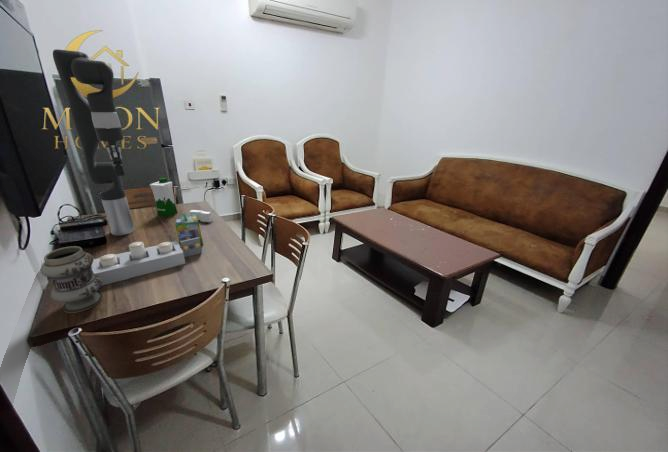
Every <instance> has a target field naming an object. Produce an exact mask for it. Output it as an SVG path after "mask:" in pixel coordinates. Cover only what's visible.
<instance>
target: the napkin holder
mask: <svg viewBox="0 0 668 452" xmlns="http://www.w3.org/2000/svg"><path fill="white" fill-rule="evenodd" d="M194 215H197V216H198V220H200V222H203V223H211V222H213V218H212V217H213V216H212V212H211V211H205V210H198V209H197V210H196V209H191V210H190V211H189V216H194Z"/></svg>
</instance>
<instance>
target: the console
mask: <svg viewBox="0 0 668 452" xmlns="http://www.w3.org/2000/svg"><path fill="white" fill-rule="evenodd" d="M170 242H171V243H172V247H173V252H168V253H164V254H160V251H159V247H158V245H159V244H157V245H153V246H148V247H144V248H145V251H146V256H145V257H144V258H141V259H132V256H131V253H130V250H129V251H125V252H121V253H115V255H116V258H117V261H118V265H113V266H109V267H105V268H102V265H101V262H100V258H101V257H97V258H93V263H92V265H91V268H92V271H93V273H94V274H95V275H97V276H99V277H100V278H101V279H102V286H105V285H106V286H107V285H109V284H112V283H118V282H121V281H125V280H129V279H131V278H132V279H133V278H135V277H139V276H144V275H147V274H151V273H152V274H153V273H155V272H158V271H162V270H167V269H169V268H170V269H171V268H174V267H177V266H183V265H185V264H186V259H185V257H184V254H183V251H182V249H181V247H180V243H179V240H178V241H177V240H175V241H170Z"/></svg>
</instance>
